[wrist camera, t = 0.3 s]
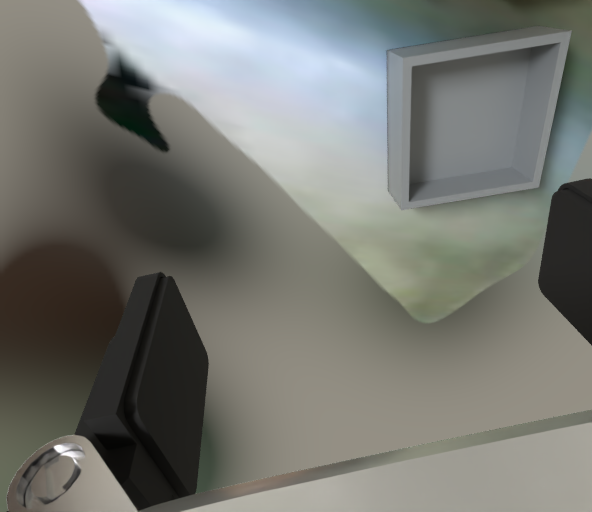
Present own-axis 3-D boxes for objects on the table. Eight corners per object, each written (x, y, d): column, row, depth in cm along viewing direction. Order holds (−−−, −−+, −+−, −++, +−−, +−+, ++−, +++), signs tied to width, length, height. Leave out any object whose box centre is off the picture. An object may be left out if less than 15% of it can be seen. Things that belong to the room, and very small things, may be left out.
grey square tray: (386, 50, 41) (402, 58, 36) (538, 25, 41) (571, 30, 37) (388, 190, 49) (401, 210, 45) (513, 169, 49) (538, 187, 45)
